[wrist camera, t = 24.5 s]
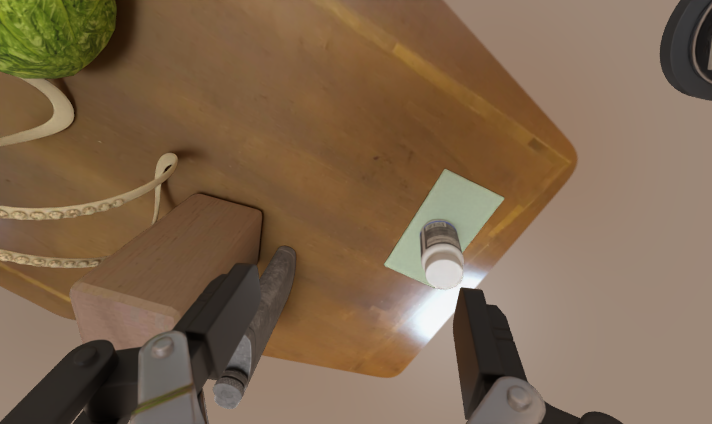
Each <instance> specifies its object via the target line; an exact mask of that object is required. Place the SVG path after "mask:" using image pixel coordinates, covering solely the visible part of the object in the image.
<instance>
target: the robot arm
mask: <svg viewBox="0 0 712 424" xmlns="http://www.w3.org/2000/svg"><path fill="white" fill-rule="evenodd" d="M688 58H689V62H690V65H691V68H692V70H693V71H694V73H695V74H696V75H697V76H698V77H699V78H700V79H702V80H703V81H705V82H707V83H709V84H712V0H710V1H709V2H708V4H707V5H706V6H705V8H704V9H703V11H702V12H701V14H700V15H699V17H698V19H697V20H696V22H695V25H694V27H693V29H692V32H691V35H690V39H689V44H688ZM260 303H261V287H260V281H259V274H258V268H257V266H256V265H255V264H247V263H236V264H235V265H234V266H233V267H232V268H231V270H230V271H229V272H228V274H221V275H219V276H218V277H217V278H215V279H214V280H212V281H211V282H210V283H209V284H208V285H207V287H206V288H205V289H204V290H203V293H201V294H200V295H199V297H198V298H197V300H196V301H195V302H194V303H193V304H192V305H191V307H190V308H189V309H188V310H187V311H186V313H185V314H184V315H183V316H182V318H181V319H180V320H179V321H178V323H177V324H176V325H175V326H174V328H173V329H172V330H171V331H166V332H162V333H160V334H157V335H155V336H154V337H152V338H150V339H149V340H148V341H147V342H146V343H145V344H144V345H143V346H142V347H136V348H129V349H122V350H115V348H114V346H113V344H112V343H111V342H110V341H108V340H93V341H90V342H87V343H84V344H82V345H80V346H78V347H77V348H75V349H73V350H72V351H71V352H69V353H68V354H67V355H66V356H65V357H64V358H63V359H62V360H61V361H60V362H59V363H58V364H57V365H56V366H55V367H54V369H52V370H51V371H50V372H49V373H48V374H47V375H46V376H45V377H44V378H43V379H42V380H41V381H40V382H39V383H38V384H37V385H36V386H35V387H34V388H33V389H32V390H31V391H30V392H29V393H28V394H27V396H25V398H23V400H22V401H21V402H19V403H18V405H17V406H16V407H15V408H14V409H13V410H12V411H11V412H10V413H9V414H8V415H7V416H6V417H5V418H4V419H3V420H2V421H1V422H0V424H71V423H72V421H73V420H74V419H75V417H76V416H77V415H78V414H79V413H80V411H81V410H82V409H83V412H82V413H81V414H80V415H79V416H78V418H77V419H76V420H75V421H74V423H73V424H127V423H128V422H129V420H130V424H209V423H208V417H207V410H206V405H205V398H204V392H203V388H202V387H203V386H204V384H205V382H206V380H207V379H212V380H218V381H219V380H220V378H221V376H222V374H223V372H224V371H225V369H226V367H227V365H228V363H229V362H230V360H231V358H232V356H233V354H234V352H235V351H236V349H237V347H238V345H239V343H240V342H241V340H242V338H243V336H244V334H245V332H246V331H247V329H248V327H249V325H250V323H251V322H252V320H253V318H254V316H255V314H256V312H257V311H258V309H259V306H260ZM453 334H454V342H455V349H456V356H457V363H458V371H459V378H460V385H461V392H462V399H463V406H464V413H465V419H466V420H468V421H467V423H466V424H623V423H621V422H620V421H618V420H617V419H615V418H613V417H612V416H610V415H607V414H604V413H601V412H588V413H586V414H584V415H583V416H582V417H581V418H578V417H576V416H573V415H571V414H569V413H566V412H564V411H562V410H559V409H557V408H555V407H553V406H551V405H549V404H548V403H546V402H545V401H544V400H543V399H542V397H541V395H540V394H539V392H538V391H537V390H536V389H535V388H534V387H533V386H532V385H530V384H529V383H528V381H527V378H526V375H525V372H524V369H523V366H522V363H521V360H520V357H519V355H518V351H517V348H516V345H515V342H513V337H512V334H511V331H510V328H509V325H508V321H507V319H506V316H505V315H504V314H503V313H502V312H501V310H500V309H499V308H498V307H497V306H496V305H488V304H486V301H485V297H484V293H483V291H482V290H480V289H471V288H460V291H459V296H458V300H457V305H456V309H455V314H454V320H453Z"/></svg>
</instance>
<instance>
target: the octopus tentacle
mask: <svg viewBox="0 0 712 424" xmlns="http://www.w3.org/2000/svg"><path fill="white" fill-rule="evenodd" d="M16 77H17V76H16ZM18 78H20V77H18ZM20 79H23V78H20ZM23 80H24V81H26V82H28V83H30V84H31V85H33V86H35V87H36V88H38V89H39V90H40V91H41V92H43V93H44V94H45V95H46V96H47V97H48V98H49V100H50V101H51V102H52V104H53V107H54V115H53V116H52V118H51V119H50V120H49V121H48V122H47V123H45V124H43V125H41V126H38V127H36V128H33V129H30V130H27V131H23V132H20V133H16V134H13V135H8V136H4V137H0V146H5V145H10V144H15V143H20V142H25V141H29V140H34V139H38V138H42V137H45V136H49V135H52V134H55V133H57V132H60V131H62V130H64V129H65V128H67V127H68V126H69V125H70V124H71V123H72V121H73V119H74V109H73V107H72V105H71V103H70V101H69V100H68V98H67V97H66V96H65V95H64V94H63V93H62V92H61V91H60V90H59V89H58V88H57V87H55V86H54V85H53V84H52V83H50V82H49V81H47V80H46V79H23ZM177 164H178V158H177V156H176V155H175V154H173V153H167V154H164V155H163V156H162V157H161V158H160V159H159V161H158V163H157V167H156V172H155V180H153V181H151V182H149V183H147V184H146V185H144V186H141V187H139V188H137V189H135V190H132V191H130V192H127V193H124V194H121V195H119V196H116V197H112V198H108V199H105V200H101V201H97V202H92V203H87V204H82V205H75V206H67V207H58V208H15V207H7V206H0V218H13V219H18V220H24V219H35V220H43V219H60V218H66V217H77V216H80V215H90V214H93V213H95V212H99V211H106V210H108V209H109V208H113V207H119V206H121V205H122V204H124V203H126V202H129V201H131V200H133V199H135V198H138V197H140V196H142V195H144V194H146V193H147V192H149V191H151V190H153V189H154V188H155V211H154V217H153V221H152V224H151V226H152V225H153V224H154V223H156V222H157V219H158V214H159V207H160V196H161V183H163V182H164V181H165V180H166V179H167V178H169V177H170V176H171V175H172V173H173V172H174V171H175V169H176V167H177ZM169 165H172V166H171V167H170V168H169V169H168V170H167V171H166V172H165V173H163V172H164V170H165V168H166V167H167V166H169ZM109 257H110V256H105V257H98V258H87V259H79V258H54V257H43V256H35V255H28V254H22V253H17V252H12V251H8V250H3V249H0V260H2V261H12V262H16V263H18V264H30V265H34V266H48V267H64V268H76V267H78V268H82V267H94V266H98V265H99V264H101V263H102V262H103V261H105V260H106V259H107V258H109Z"/></svg>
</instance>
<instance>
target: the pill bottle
mask: <svg viewBox="0 0 712 424" xmlns="http://www.w3.org/2000/svg"><path fill="white" fill-rule="evenodd" d="M420 252H421V265H422V268H423V270H424V271H425V276H426V279H427V281H428V283H429V284H431V285H432V286H433V287H435V288H438V289H450V288H453V287H455V286H457V285H458V284H459V283H460V282H461V280H462V278H463V268H462V267H463V264H464V258H463V254H462V250H461V246H460V242H459V238H458V234H457V230H456V228H455V227H454V225H453V224H451V223H450V222H448V221H446V220H441V219H437V220H432V221H430V222H428V223H426V224H425V225H424V226H423V228H422V229H421V231H420Z"/></svg>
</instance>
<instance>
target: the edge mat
mask: <svg viewBox="0 0 712 424" xmlns="http://www.w3.org/2000/svg"><path fill="white" fill-rule="evenodd" d="M503 200H504V197H502V196H500V195H498V194H496V193H494V192H492V191H490V190H488V189H486V188H484V187H482V186H480V185H478V184H476V183H474V182H472V181H470V180H468V179H466V178H464V177H462V176H460V175H457V174H455V173H453V172H451V171H449V170H447V169H444V170H443V172H442V174H441V175H440V177H439V178H438V180H437V181H436V183H435V185H434V186H433V188H432V189H431V191H430V193H429V194H428V196H427V197H426V199H425V200H424V202H423V204H422V205H421V207H420V208H419V210H418V211H417V213H416V215H415V216H414V218H413V219H412V221H411V222H410V224H409V226H408V227H407V229H406V230H405V232H404V233H403V235H402V237H401V238H400V240H399V241H398V243H397V244H396V246H395V248H394V249H393V251H392V252H391V254H390V256H389V257H388V259H387V260H386V262H385V263H384V266H386V267H389V268H391V269H393V270H395V271H397V272H400V273H402V274H404V275H406V276H408V277H411V278H413V279H415V280H417V281H419V282H422V283H424V284H426V285H428V286H430V287H433V286H432V285H431V284H429V283H428V281H427V279H426V276H425V271H424V270H423V268H422V265H421V252H420V231H421V229H422V228H423V226H424V225H425V224H426V223H428V222H430V221H432V220H437V219H441V220H446V221H448V222H450V223H451V224H453V225H454V227H455V228H456V230H457V234H458V238H459V242H460V246H461V250H462V252H463V251H464V250H465V249H466V247H467V246H468V245H469V243H470V242H471V241H472V240H473V238H474V237H475V236H476V234H477V233H478V232H479V231H480V229H481V228H482V227H483V225H484V224H485V223H486V222H487V220H488V219H489V218H490V216H491V215H492V214H493V213H494V211H495V210H496V209H497V207H498V206H499V205H500V204H501V202H502V201H503ZM433 288H435V287H433Z"/></svg>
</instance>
